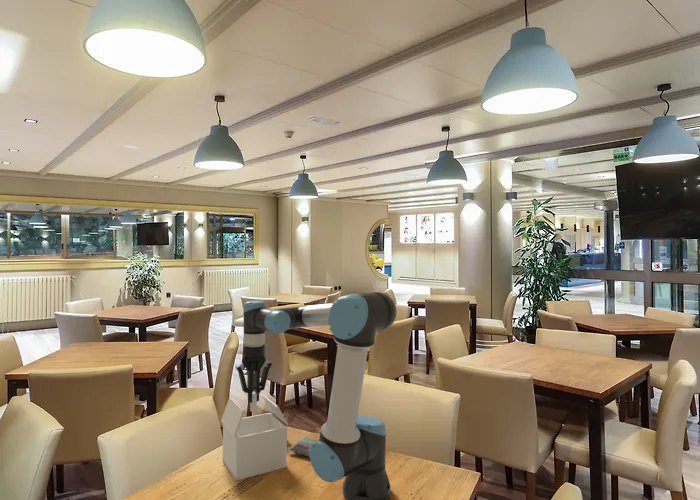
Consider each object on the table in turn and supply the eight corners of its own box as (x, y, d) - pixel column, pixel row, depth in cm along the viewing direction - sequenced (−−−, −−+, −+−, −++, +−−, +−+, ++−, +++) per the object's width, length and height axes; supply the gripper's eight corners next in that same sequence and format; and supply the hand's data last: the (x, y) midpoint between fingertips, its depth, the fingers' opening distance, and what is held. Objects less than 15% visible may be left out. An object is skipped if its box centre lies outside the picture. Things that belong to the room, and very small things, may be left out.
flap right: (287, 425, 154) (288, 424, 154) (276, 406, 152) (277, 405, 152) (271, 411, 167) (272, 410, 167) (260, 394, 164) (262, 393, 165)
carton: (286, 466, 153) (287, 427, 153) (236, 480, 144) (236, 438, 144) (269, 449, 167) (270, 412, 167) (222, 460, 157) (223, 421, 157)
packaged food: (313, 462, 157) (313, 448, 157) (287, 454, 163) (287, 441, 163) (326, 453, 164) (327, 440, 165) (301, 446, 170) (301, 433, 171)
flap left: (244, 411, 145) (242, 410, 145) (235, 437, 144) (233, 436, 144) (230, 397, 158) (229, 397, 158) (222, 421, 157) (220, 421, 157)
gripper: (267, 340, 162) (266, 404, 162) (232, 344, 155) (231, 410, 155) (275, 344, 155) (274, 410, 155) (239, 348, 148) (238, 417, 148)
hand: (253, 410), depth 155 cm, fingers closed
